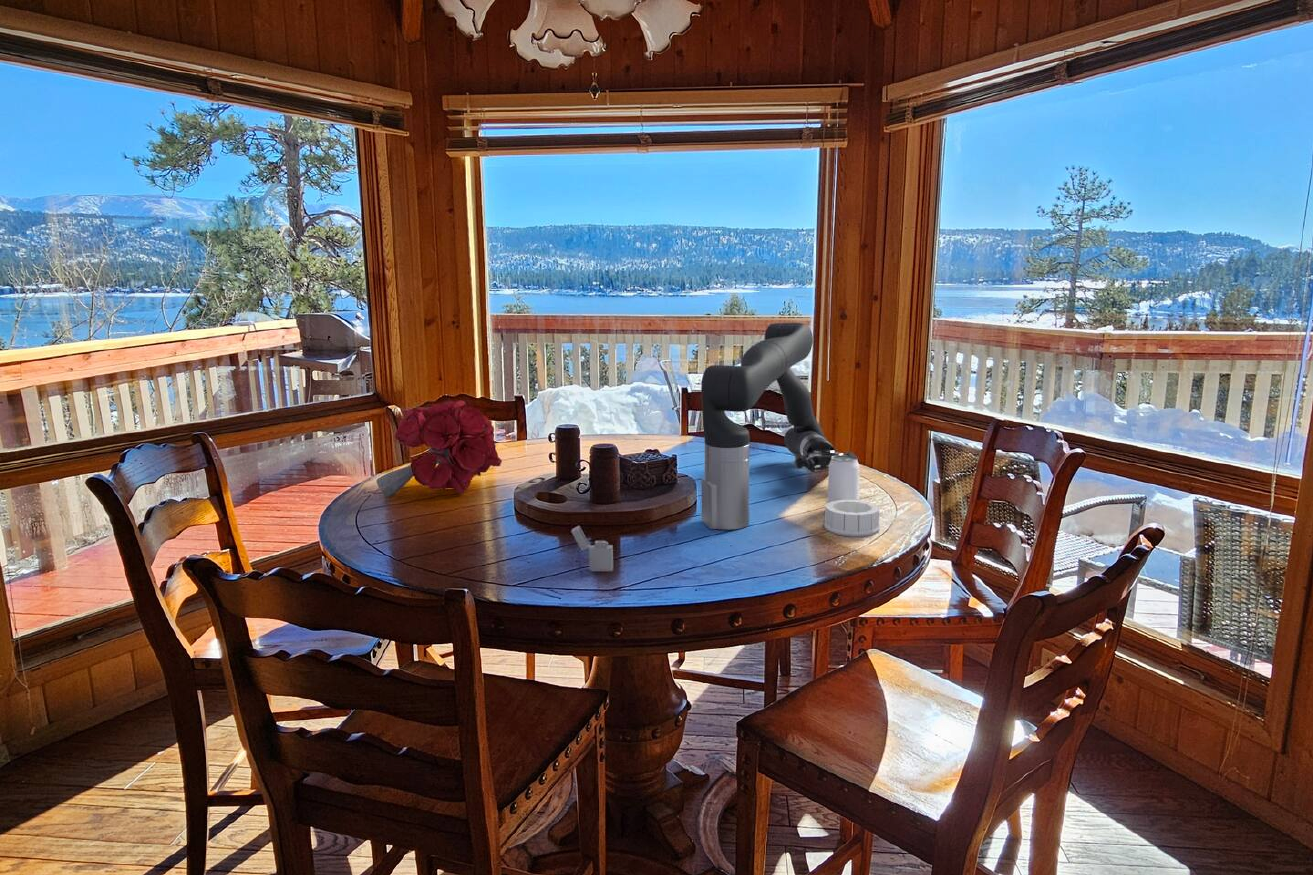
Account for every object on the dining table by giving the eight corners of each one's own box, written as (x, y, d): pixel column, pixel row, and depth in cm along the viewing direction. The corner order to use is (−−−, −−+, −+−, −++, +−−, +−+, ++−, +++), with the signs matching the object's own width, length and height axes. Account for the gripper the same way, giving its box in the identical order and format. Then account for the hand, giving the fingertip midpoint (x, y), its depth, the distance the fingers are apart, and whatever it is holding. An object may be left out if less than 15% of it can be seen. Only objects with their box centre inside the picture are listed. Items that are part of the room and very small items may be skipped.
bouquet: (403, 537, 183) (515, 467, 185) (342, 452, 178) (457, 380, 180) (415, 516, 204) (515, 453, 206) (360, 439, 199) (463, 375, 201)
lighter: (613, 567, 144) (612, 525, 142) (612, 571, 142) (611, 528, 140) (574, 567, 144) (572, 525, 142) (572, 571, 142) (571, 528, 141)
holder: (840, 539, 157) (841, 517, 156) (814, 522, 167) (815, 502, 166) (889, 533, 160) (890, 512, 159) (861, 517, 170) (862, 497, 169)
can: (823, 513, 173) (825, 459, 171) (832, 505, 179) (833, 453, 177) (853, 517, 170) (855, 462, 168) (860, 509, 176) (862, 456, 174)
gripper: (789, 437, 199) (801, 452, 183) (845, 436, 199) (863, 450, 183) (788, 466, 201) (800, 483, 185) (844, 465, 201) (862, 482, 185)
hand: (831, 467), depth 184 cm, fingers open, 8 cm apart
